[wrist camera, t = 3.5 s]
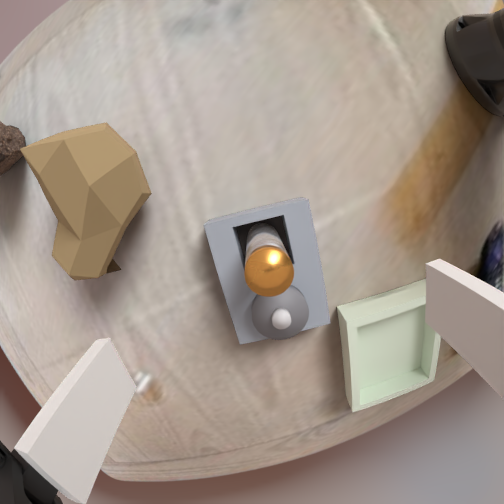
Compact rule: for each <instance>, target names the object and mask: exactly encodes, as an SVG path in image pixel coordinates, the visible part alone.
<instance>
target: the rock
mask: <svg viewBox="0 0 504 504" xmlns="http://www.w3.org/2000/svg"><path fill="white" fill-rule="evenodd" d="M23 147H26V145H25V137H24V136H23V135H22V133H21V131H20V130H19V128H16V127H13V126H6V125H4V124H3V123H2V122H0V175H2V174H3V173H5V172H7V171H8V170H9V169H10V168H11V166H12V165H13V164H14V163H16V162H17V161H18V160H19V159H20V158H21V157H23V154H22V152H21V150H20V149H21V148H23Z"/></svg>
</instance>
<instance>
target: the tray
mask: <svg viewBox="0 0 504 504" xmlns="http://www.w3.org/2000/svg"><path fill="white" fill-rule="evenodd" d="M337 312H338V319H339V328H340V337H341V346H342V356H343V367H344V379H345V393H346V397H347V400H348V402H349V405H350V407H351V410H352V413H353V412H356V411H359V410H362V409H365V408H368V407H371V406H374V405H377V404H380V403H382V402H385V401H388V400H390V399H393V398H395V397H398V396H400V395H403V394H405V393H408V392H410V391H412V390H415V389H417V388H419V387H422V386H424V385H426V384H428V383H430V382H432V381H434V378H435V373H436V367H437V362H438V355H439V349H440V341H441V336H440V335H439V334H438V333H436V332H435V331H434V330H433V329H432V328H431V327H430V326H429V325H428V324H427V323H426V322H425V313H426V279H423V280H420V281H417V282H414V283H411V284H408V285H405V286H402V287H399V288H396V289H393V290H390V291H387V292H384V293H381V294H377V295H374V296H371V297H368V298H364V299H361V300H357V301H354V302H350V303H347V304H343V305H340V306H337Z"/></svg>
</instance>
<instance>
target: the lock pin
mask: <svg viewBox="0 0 504 504" xmlns="http://www.w3.org/2000/svg"><path fill="white" fill-rule="evenodd" d="M244 275H245V281H246V283H247V285H248V287H249V288H250V289H251V290H252V291H253V292H255V293H256V294H258V295H261V296H265V297H273V296H277V295H279V294H281V293H283V292H285V291H286V290H287V289H288V288H289V287H290V285H291V283H292V281H293V278H294V267H293V264H292V262H291V260H290V258H289V256H288V254H287V251H286V249H285V247H284V245H283V243H282V241H281V239H280V237H279V235H278V233H277V231H276V229H275V228H274V227H273V226H272V225H270V224H267V223H259V224H256V225H254V226H253V227H252V228H251V229H250V230H249V232H248V235H247V246H246V259H245V272H244Z"/></svg>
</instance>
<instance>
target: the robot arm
mask: <svg viewBox="0 0 504 504" xmlns="http://www.w3.org/2000/svg"><path fill="white" fill-rule="evenodd" d="M446 44H447V48H448V51H449V54H450V57H451V60H452V62H453V64H454V66H455V69H456V71H457V72H458V74H459V76H460V78H461V80H462V81H463V83H464V84H465V86H466V87H467V89H468V90H469V92H470V93H471V94H472V95H473V97H474V98H475V99H476V100H477V101H478V102H479V103H480V104H481V105H482V106H483V107H484V108H485V109H486V110H488V111H489V112H491V113H492V114H495V115H498V116H504V8H503V9H501V10H499V11H497V12H495V13H492V14H474V15H463V16H460V17H458V18H456V19H454V20H453V21H451V22H450V23H449V24H448V26H447V28H446ZM425 322H426V323H427V324H428V325H429V326H430V327H431V328H432V329H433V330H434V331H435V332H436V333H438V334H439V335H440V336H441V337H442V338H443V339H444V340H445V341H446V342H447V343H448V344H449V345H450V346H451V347H452V348H453V349H454V350H455V351H456V352H457V353H458V354H459V355H461V356H462V357H463V358H464V359H465V360H466V361H467V362H468V363H469V364H470V365H471V366H472V367H473V368H474V369H475V370H476V371H477V373H478V374H479V375H480V376H482V378H483V379H484V380H485V381H486V382H487V383H488V384H489V385H490V386H491V387H492V388H493V389H494V390H495V391H496V392H497V393H498V394H499V395H500V397H501V398H502V399H503V400H504V293H503V292H501V291H500V290H498V289H496V288H494V287H493V286H491V285H489V284H487V283H485V282H484V281H482V280H480V279H478V278H476V277H474V276H472V275H471V274H469V273H467V272H465V271H463V270H461V269H459V268H457V267H455V266H453V265H451V264H449V263H447V262H445V261H443V260H441V259H437V260H434V261H431V262H429V263H426V313H425ZM136 388H137V387H136V385H135V384H134V382H133V380H132V378H131V377H130V375H129V373H128V371H127V369H126V368H125V366H124V364H123V362H122V360H121V358H120V356H119V355H118V353H117V351H116V349H115V347H114V345H113V343H112V341H111V339H110V338H105V339H97V340H96V341H95V342H94V343H93V345H92V346H91V347H90V348H89V349H88V351H87V352H86V353H85V354H84V355H83V357H82V358H81V359H80V360H79V361H78V363H77V364H76V365H75V366H74V368H73V369H72V370H71V371H70V373H69V374H68V375H67V376H66V378H65V379H64V380H63V382H62V383H61V384H60V385H59V387H58V388H57V389H56V391H55V392H54V393H53V394H52V396H51V397H50V398H49V400H48V401H47V402H46V404H45V405H44V406H43V408H42V409H41V410H40V412H39V413H38V415H37V416H36V417H35V419H34V420H33V421H32V423H31V424H30V426H29V427H28V429H27V430H26V431H25V433H24V434H23V436H22V437H21V439H20V440H19V441H18V443H17V444H16V446H15V447H14V450H13V451H12V452H10V451H9V450H8V449H7V448H6V447H5V446H4V445H3V443H2V442H1V441H0V504H63V503H62V501H61V499H60V498H59V497H58V496H57V495H56V494H57V492H58V491H60V492H61V493H62V494H63V495H64V496H66V497H67V498H68V499H70V500H72V501H75V502H78V503H81V504H86V502H87V500H88V497H89V495H90V492H91V489H92V487H93V485H94V482H95V480H96V477H97V475H98V473H99V470H100V468H101V465H102V463H103V461H104V458H105V456H106V454H107V452H108V449H109V447H110V445H111V442H112V440H113V438H114V436H115V433H116V431H117V429H118V427H119V425H120V422H121V420H122V418H123V416H124V414H125V412H126V409H127V407H128V405H129V403H130V401H131V399H132V397H133V395H134V393H135V390H136Z"/></svg>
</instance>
